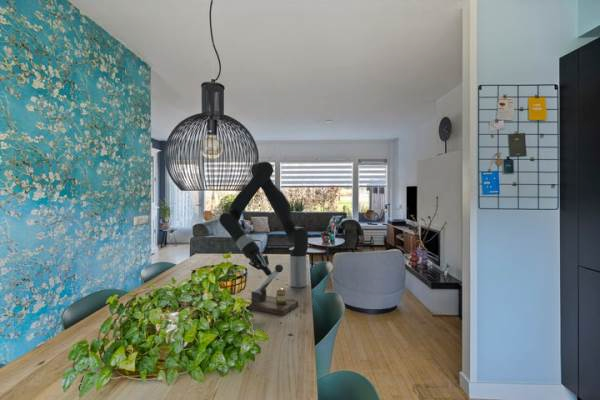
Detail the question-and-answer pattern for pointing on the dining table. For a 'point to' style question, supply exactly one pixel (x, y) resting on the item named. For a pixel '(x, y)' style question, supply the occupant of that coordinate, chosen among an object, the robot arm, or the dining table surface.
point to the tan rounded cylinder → (281, 297)
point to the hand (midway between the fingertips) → (269, 274)
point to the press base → (270, 304)
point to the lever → (270, 278)
